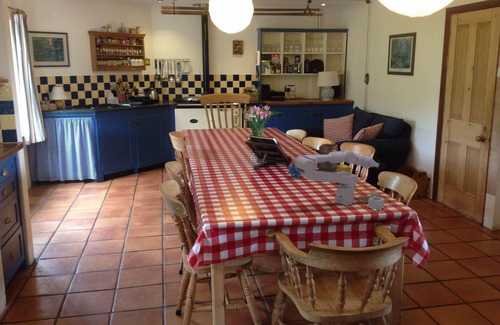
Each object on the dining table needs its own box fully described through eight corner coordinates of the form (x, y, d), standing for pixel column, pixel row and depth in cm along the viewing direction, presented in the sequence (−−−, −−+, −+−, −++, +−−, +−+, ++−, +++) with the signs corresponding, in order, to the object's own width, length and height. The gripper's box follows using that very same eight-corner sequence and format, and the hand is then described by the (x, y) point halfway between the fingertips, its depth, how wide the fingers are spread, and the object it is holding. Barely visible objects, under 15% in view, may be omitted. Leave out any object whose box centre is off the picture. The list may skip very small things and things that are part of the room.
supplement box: (335, 183, 272) (336, 165, 269) (344, 182, 274) (345, 164, 272) (340, 185, 266) (341, 167, 264) (349, 184, 269) (350, 166, 266)
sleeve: (377, 211, 222) (378, 201, 221) (367, 208, 226) (368, 198, 225) (383, 208, 226) (384, 198, 225) (373, 205, 230) (374, 196, 229)
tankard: (346, 178, 283) (347, 146, 278) (321, 180, 278) (322, 148, 274) (329, 169, 305) (330, 140, 300) (306, 171, 300) (307, 141, 296)
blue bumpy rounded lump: (304, 175, 288) (305, 157, 285) (307, 178, 281) (307, 159, 279) (286, 176, 286) (286, 157, 284) (288, 179, 280) (289, 160, 277)
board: (388, 203, 234) (389, 196, 233) (365, 204, 233) (366, 196, 232) (380, 196, 245) (381, 189, 244) (358, 197, 244) (359, 189, 244)
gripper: (371, 155, 227) (391, 160, 234) (353, 149, 240) (372, 154, 246) (367, 169, 228) (387, 173, 234) (349, 162, 241) (368, 167, 247)
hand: (379, 164), depth 240 cm, fingers open, 7 cm apart
